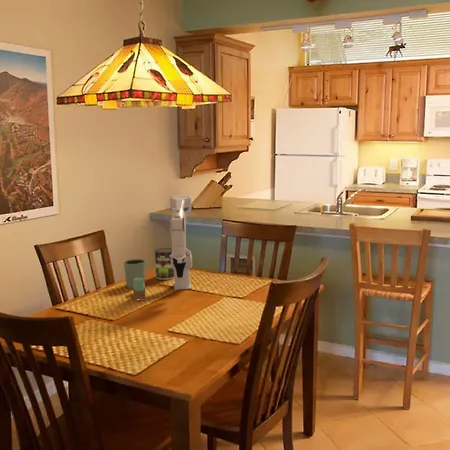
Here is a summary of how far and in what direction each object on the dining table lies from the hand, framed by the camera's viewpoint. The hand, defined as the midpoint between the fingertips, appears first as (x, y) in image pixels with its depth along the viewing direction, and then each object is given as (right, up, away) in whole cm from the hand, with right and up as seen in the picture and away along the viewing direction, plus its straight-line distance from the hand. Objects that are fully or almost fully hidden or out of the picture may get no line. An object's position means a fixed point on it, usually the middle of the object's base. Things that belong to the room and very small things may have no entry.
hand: (179, 275), depth 243 cm
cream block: (-19, -9, +10) cm, 24 cm away
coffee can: (-10, -4, +36) cm, 38 cm away
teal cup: (-23, -7, +23) cm, 33 cm away
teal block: (-18, -7, +2) cm, 19 cm away
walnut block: (-18, -11, +2) cm, 21 cm away
